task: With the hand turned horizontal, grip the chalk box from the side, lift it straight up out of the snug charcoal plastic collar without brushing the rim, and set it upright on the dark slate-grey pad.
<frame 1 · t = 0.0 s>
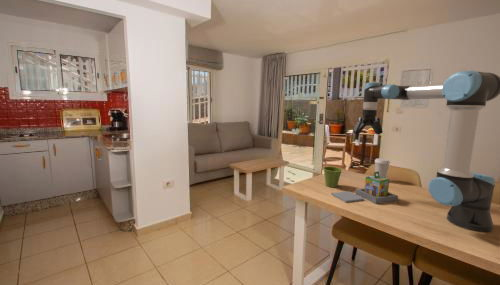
hand: (366, 144, 145), 28 cm above the table, tool pointing down, fingers open, 13 cm apart
pad: (347, 197, 135), on the table
collar: (375, 197, 136), on the table
plant pot: (331, 186, 155), on the table
chalk box: (375, 197, 136), resting in collar
coffee cup: (380, 180, 169), on the table
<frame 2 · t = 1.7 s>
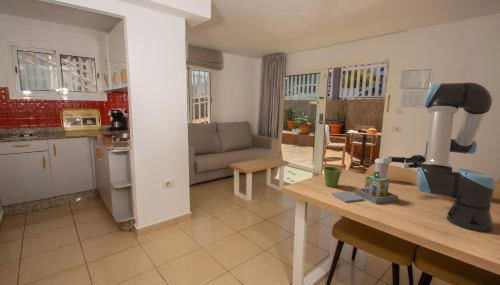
hand: (392, 163, 136), 19 cm above the table, tool horizontal, fingers open, 13 cm apart
nothing on the table moved.
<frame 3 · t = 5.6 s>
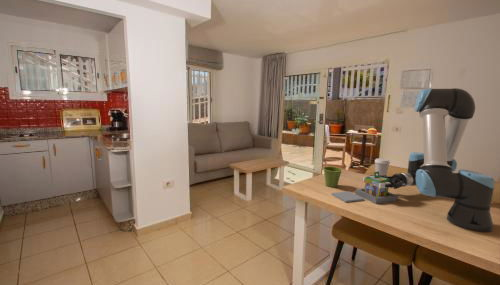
hand: (371, 182, 133), 9 cm above the table, tool horizontal, fingers closed on chalk box, 11 cm apart
chalk box: (375, 197, 136), resting in collar, touching gripper
everything else where it was.
when the fingers open (11 cm above the table, at t = 12.4 s): chalk box drops 1 cm, resting on pad.
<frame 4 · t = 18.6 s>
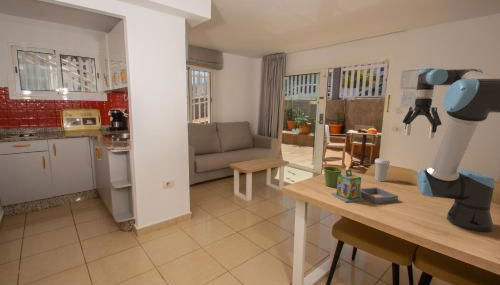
hand: (418, 136, 134), 35 cm above the table, tool pointing down, fingers open, 13 cm apart
chalk box: (347, 196, 134), point 1 cm above the table, touching pad
everything else where it was.
at the end: chalk box inside the target area on the pad (0.2 cm from its centre), point 0.8 cm above the pad's base; chalk box tilted 0°; the gripper is holding nothing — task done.
